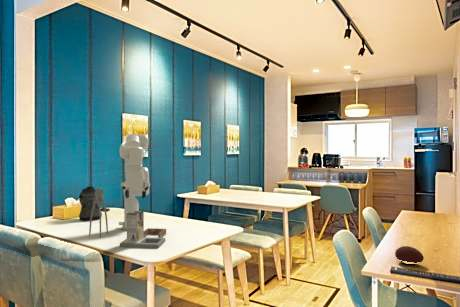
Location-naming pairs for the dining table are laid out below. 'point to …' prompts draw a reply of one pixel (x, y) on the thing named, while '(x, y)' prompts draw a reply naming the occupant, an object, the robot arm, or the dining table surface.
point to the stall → (155, 232)
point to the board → (144, 243)
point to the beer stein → (88, 205)
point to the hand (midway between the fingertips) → (135, 197)
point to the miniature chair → (99, 200)
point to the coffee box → (135, 226)
